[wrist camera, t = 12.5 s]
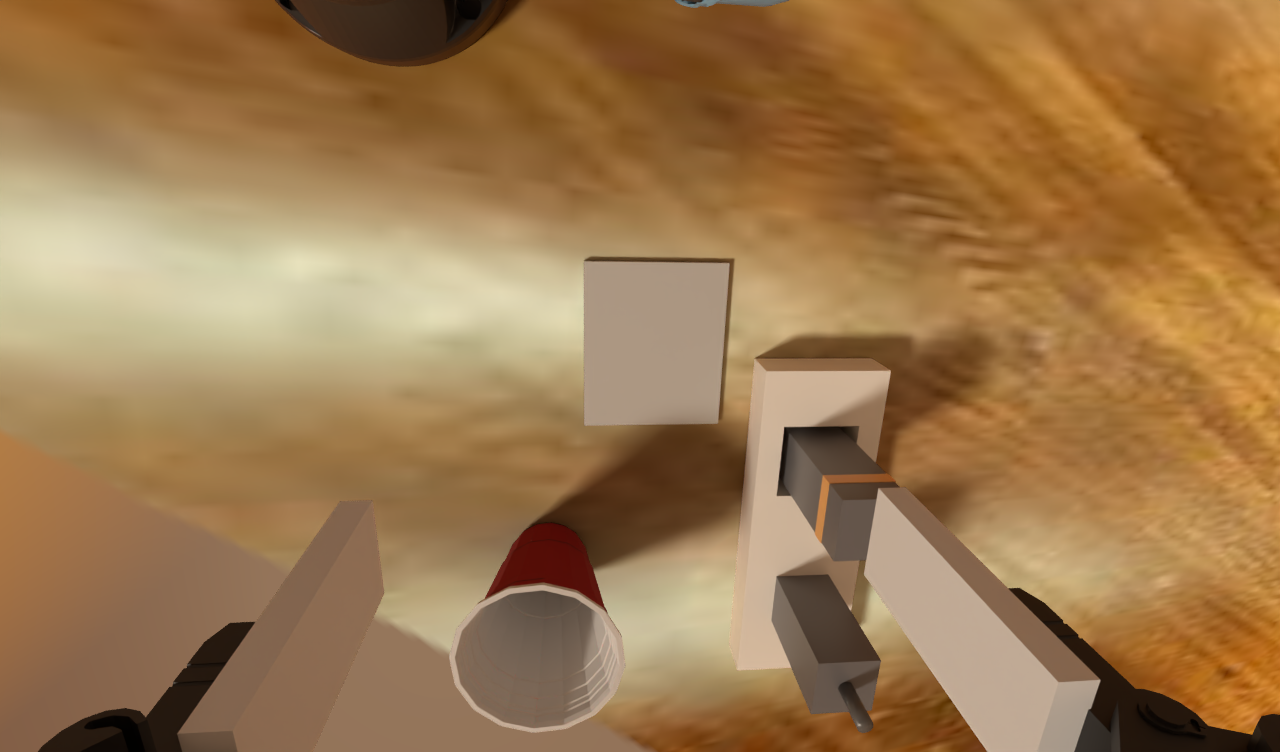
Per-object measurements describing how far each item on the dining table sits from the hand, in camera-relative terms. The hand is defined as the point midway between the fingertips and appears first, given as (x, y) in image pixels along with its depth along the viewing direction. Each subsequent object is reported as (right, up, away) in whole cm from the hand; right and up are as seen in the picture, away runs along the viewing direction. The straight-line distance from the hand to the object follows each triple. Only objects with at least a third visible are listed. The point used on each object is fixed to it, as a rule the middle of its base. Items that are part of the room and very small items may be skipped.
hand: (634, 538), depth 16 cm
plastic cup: (-7, -10, +33) cm, 35 cm away
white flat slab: (+1, +6, +28) cm, 29 cm away
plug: (+13, -1, +32) cm, 35 cm away
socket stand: (+13, -7, +34) cm, 37 cm away
